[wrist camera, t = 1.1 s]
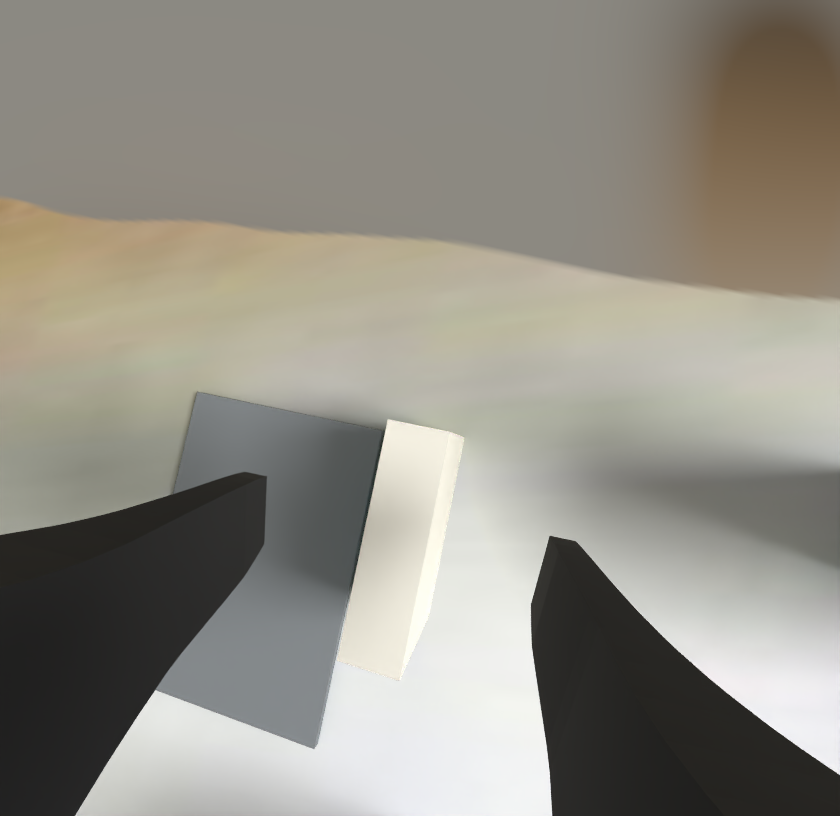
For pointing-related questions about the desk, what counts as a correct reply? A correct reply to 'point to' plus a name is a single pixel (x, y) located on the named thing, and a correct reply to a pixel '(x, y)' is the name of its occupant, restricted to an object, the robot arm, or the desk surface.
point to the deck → (400, 547)
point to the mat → (278, 563)
